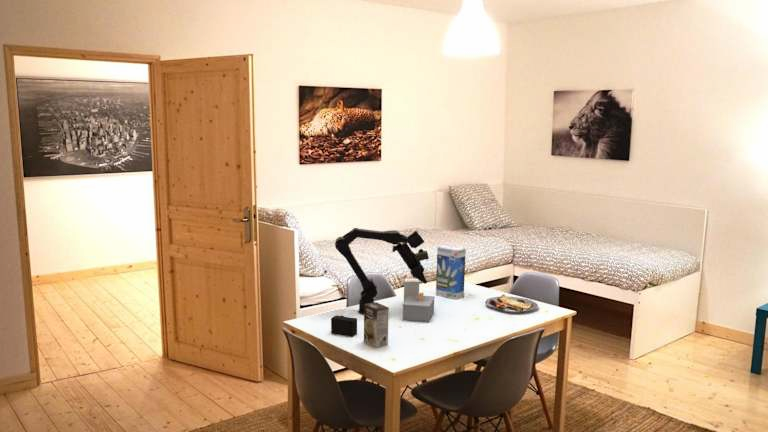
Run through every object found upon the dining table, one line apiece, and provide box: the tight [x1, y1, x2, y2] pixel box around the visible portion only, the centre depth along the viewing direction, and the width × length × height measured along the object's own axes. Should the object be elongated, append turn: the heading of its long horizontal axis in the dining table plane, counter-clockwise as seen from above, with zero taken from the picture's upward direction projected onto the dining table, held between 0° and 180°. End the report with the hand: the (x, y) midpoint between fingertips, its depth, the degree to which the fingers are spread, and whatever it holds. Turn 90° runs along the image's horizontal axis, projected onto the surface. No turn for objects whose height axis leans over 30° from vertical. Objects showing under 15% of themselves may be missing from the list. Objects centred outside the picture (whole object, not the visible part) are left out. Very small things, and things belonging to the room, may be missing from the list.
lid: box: [402, 292, 435, 307], centre depth 299 cm, size 12×16×4 cm
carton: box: [402, 299, 435, 323], centre depth 300 cm, size 12×16×7 cm
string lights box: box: [435, 244, 467, 300], centre depth 334 cm, size 13×8×26 cm, turn 50°
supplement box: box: [403, 278, 420, 302], centre depth 318 cm, size 7×7×13 cm
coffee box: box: [363, 301, 390, 349], centre depth 262 cm, size 9×6×16 cm
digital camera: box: [330, 315, 358, 338], centre depth 275 cm, size 10×5×7 cm, turn 66°
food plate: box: [485, 294, 539, 313], centre depth 317 cm, size 25×23×4 cm
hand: (424, 280), depth 306 cm, fingers open, 9 cm apart
